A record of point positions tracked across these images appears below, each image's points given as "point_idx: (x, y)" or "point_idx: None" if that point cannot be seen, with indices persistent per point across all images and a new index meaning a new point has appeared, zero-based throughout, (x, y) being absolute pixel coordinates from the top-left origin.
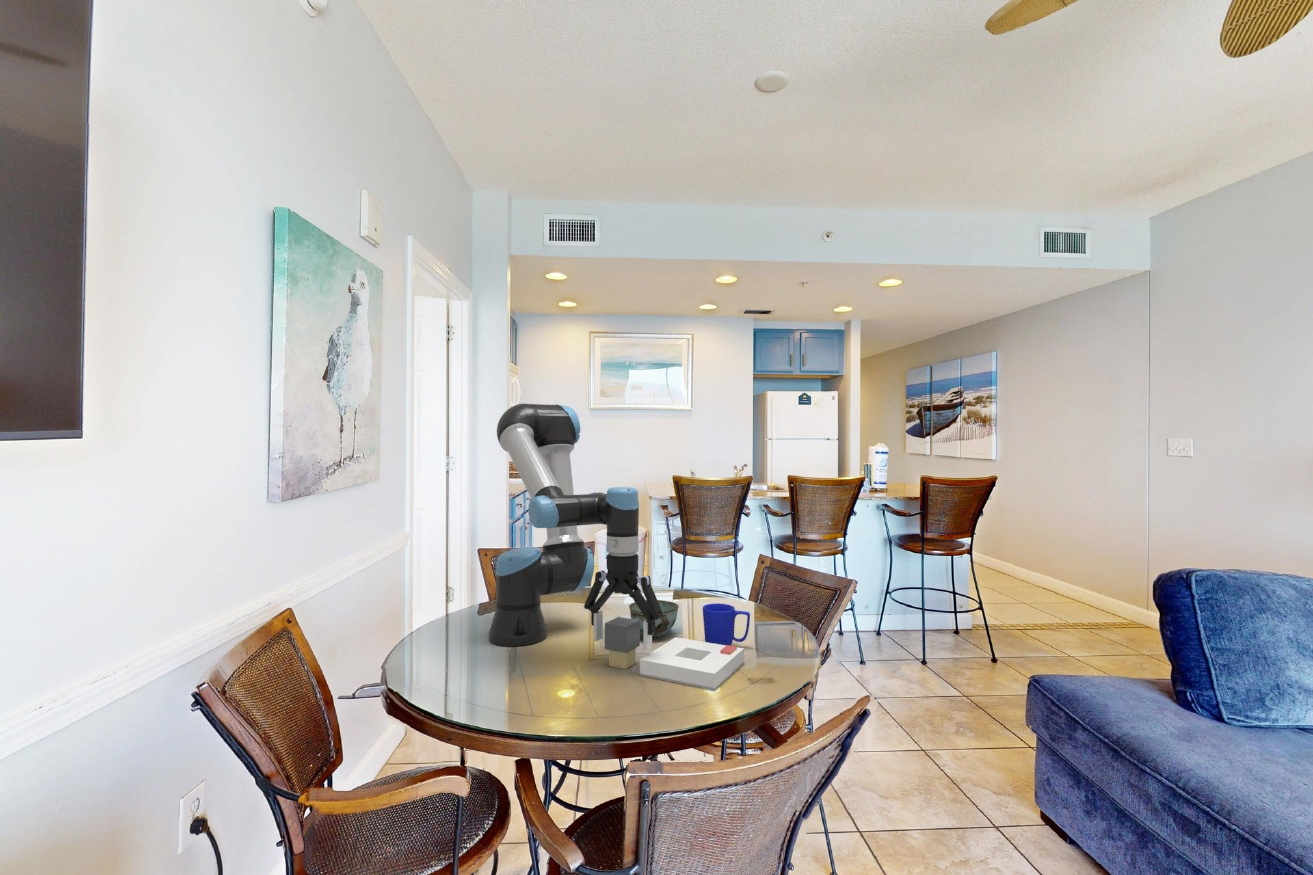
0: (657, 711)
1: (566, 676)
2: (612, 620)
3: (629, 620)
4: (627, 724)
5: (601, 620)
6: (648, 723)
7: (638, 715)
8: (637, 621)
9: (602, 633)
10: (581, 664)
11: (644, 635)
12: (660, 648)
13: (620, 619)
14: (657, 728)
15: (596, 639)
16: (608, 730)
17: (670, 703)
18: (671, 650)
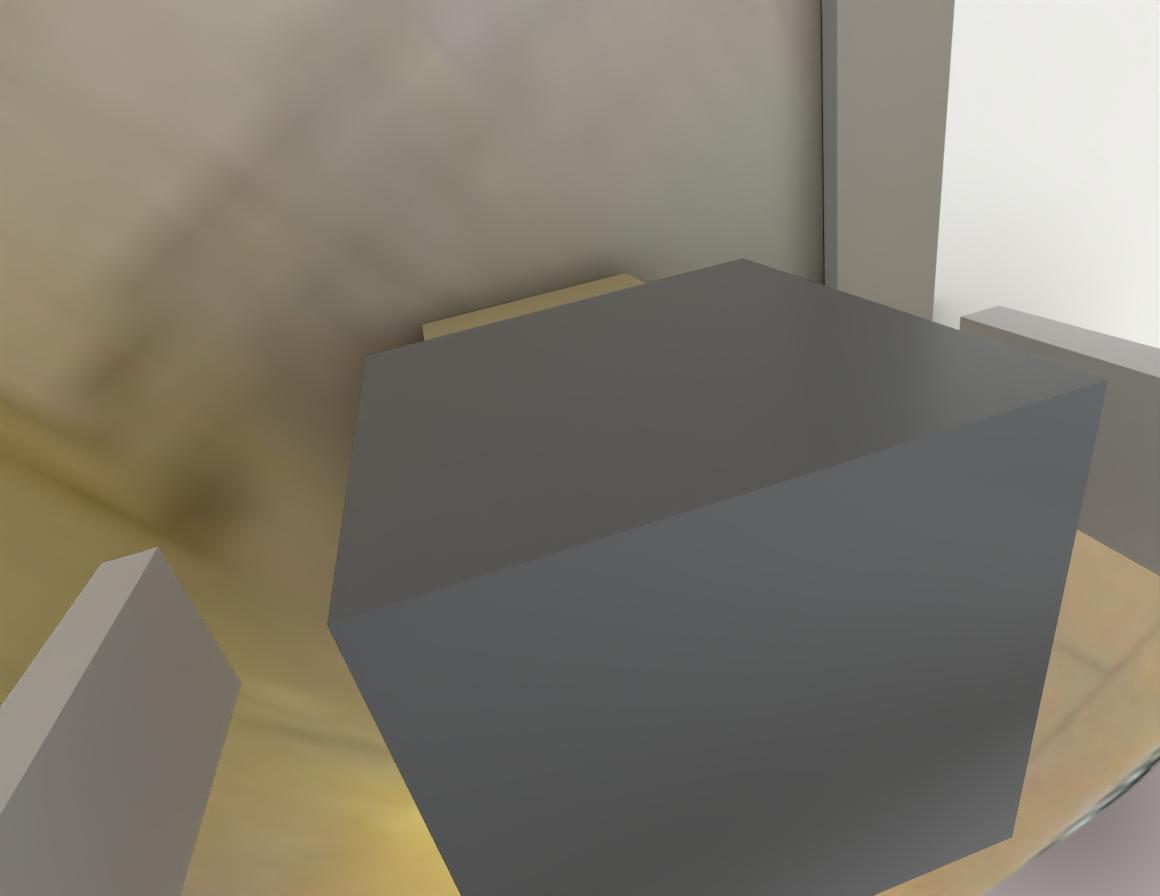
0: (1098, 683)
1: (406, 826)
2: (506, 880)
3: (866, 594)
4: (1024, 815)
5: (23, 886)
6: (1093, 760)
7: (1037, 756)
8: (1080, 501)
9: (129, 599)
10: (252, 656)
11: (1137, 550)
12: (979, 79)
13: (611, 713)
14: (1134, 755)
15: (232, 699)
16: (981, 876)
17: (1134, 595)
18: (1128, 47)
